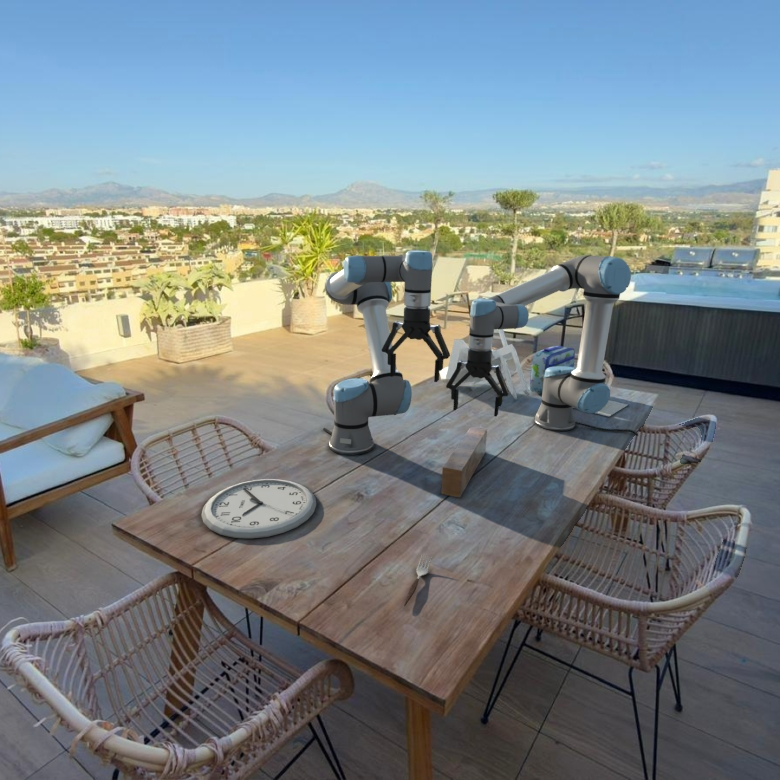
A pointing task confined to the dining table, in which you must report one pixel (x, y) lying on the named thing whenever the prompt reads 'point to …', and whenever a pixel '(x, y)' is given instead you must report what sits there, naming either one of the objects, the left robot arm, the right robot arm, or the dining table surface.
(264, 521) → the wall clock
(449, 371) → the white plastic object
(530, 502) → the dining table surface
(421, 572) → the fork
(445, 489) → the bar
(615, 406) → the invitation card
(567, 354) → the lunch box
